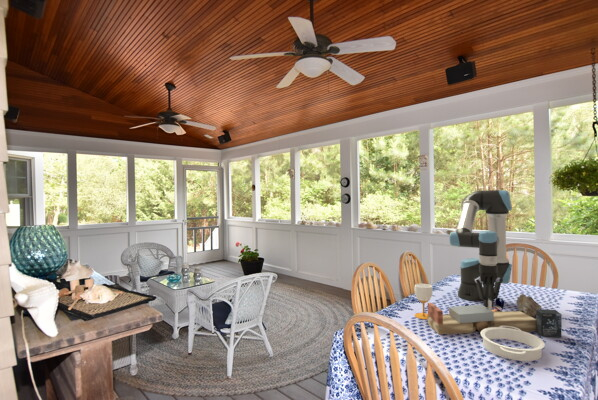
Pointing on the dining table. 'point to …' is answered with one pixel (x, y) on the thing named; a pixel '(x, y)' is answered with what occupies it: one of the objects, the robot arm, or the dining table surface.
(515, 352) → the cream oval ring
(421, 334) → the dining table surface
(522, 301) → the rock
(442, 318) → the track
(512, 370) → the dining table surface
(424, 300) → the cup
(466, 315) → the slab
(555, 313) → the box
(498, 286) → the robot arm
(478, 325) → the roller
